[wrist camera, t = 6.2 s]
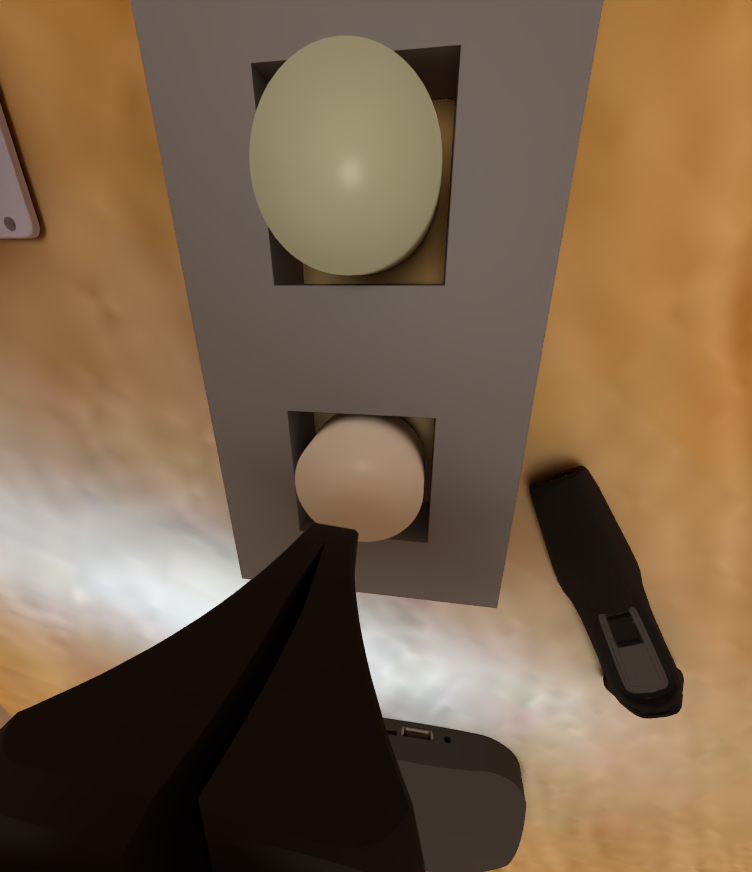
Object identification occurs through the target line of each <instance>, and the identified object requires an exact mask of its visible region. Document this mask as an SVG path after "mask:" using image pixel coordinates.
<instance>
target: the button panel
mask: <svg viewBox="0 0 752 872" xmlns="http://www.w3.org/2000/svg"><path fill="white" fill-rule="evenodd" d="M131 5H132V10H133V15H134V20H135V25H136V30H137V36H138V41H139V46H140V51H141V56H142V62H143V67H144V72H145V77H146V82H147V87H148V93H149V98H150V103H151V108H152V113H153V119H154V124H155V129H156V134H157V139H158V145H159V150H160V155H161V160H162V165H163V170H164V176H165V181H166V186H167V191H168V196H169V202H170V207H171V212H172V217H173V222H174V227H175V233H176V238H177V243H178V248H179V253H180V259H181V264H182V269H183V274H184V279H185V285H186V290H187V295H188V300H189V305H190V310H191V316H192V321H193V326H194V331H195V336H196V342H197V347H198V352H199V357H200V362H201V367H202V373H203V378H204V383H205V388H206V393H207V399H208V404H209V409H210V414H211V419H212V424H213V430H214V435H215V440H216V445H217V450H218V456H219V461H220V466H221V471H222V476H223V482H224V487H225V492H226V497H227V502H228V507H229V513H230V518H231V523H232V528H233V533H234V539H235V544H236V549H237V554H238V559H239V564H240V570H241V575H242V578H244V579H253V578H254V577H255V576H256V575H258V574H259V573H260V572H261V571H262V570H264V569H265V568H266V567H267V566H268V565H269V564H270V563H271V562H273V561H274V560H275V559H276V558H277V557H278V556H279V555H280V554H282V553H283V552H284V551H285V550H286V549H287V548H288V547H289V546H290V545H291V544H292V543H293V542H294V541H295V540H296V539H297V538H298V537H299V536H300V535H301V534H302V533H303V532H304V531H305V530H306V529H307V528H308V527H309V526H310V525H311V524H313V523H314V522H315V521H314V520H313V519H312V518H311V517H310V516H309V515H308V514H307V512H306V511H305V509H304V508H303V506H302V505H301V502H300V500H299V498H298V495H297V492H296V487H295V472H296V467H297V463H298V461H299V459H300V456H301V455H302V453H303V452H304V450H305V449H306V448H307V446H308V445H309V444H310V442H311V441H312V440H313V438H314V437H315V430H314V417H313V412H323V413H344V414H364V415H384V416H404V417H425V418H435V419H434V435H433V450H432V466H431V481H430V497H429V503H422V504H421V508H420V510H419V512H418V514H417V516H416V518H415V519H414V520H413V522H412V523H411V524H410V525H409V526H408V527H407V528H406V529H404V530H403V531H402V532H400V533H398V534H397V535H395V536H392V537H390V538H387V539H384V540H379V541H373V542H359V541H358V546H357V556H356V566H355V590H356V592H363V593H372V594H380V595H389V596H398V597H406V598H415V599H423V600H432V601H440V602H449V603H457V604H466V605H474V606H483V607H491V608H497V605H498V599H499V593H500V588H501V582H502V576H503V570H504V565H505V559H506V553H507V548H508V542H509V536H510V530H511V525H512V519H513V513H514V508H515V502H516V496H517V491H518V485H519V479H520V473H521V468H522V462H523V456H524V451H525V445H526V439H527V433H528V428H529V422H530V416H531V411H532V405H533V399H534V393H535V388H536V382H537V376H538V371H539V365H540V359H541V354H542V348H543V342H544V336H545V331H546V325H547V319H548V314H549V308H550V302H551V296H552V291H553V285H554V279H555V274H556V268H557V262H558V257H559V251H560V245H561V239H562V234H563V228H564V222H565V217H566V211H567V205H568V199H569V194H570V188H571V182H572V177H573V171H574V165H575V159H576V154H577V148H578V142H579V137H580V131H581V125H582V120H583V114H584V108H585V102H586V97H587V91H588V85H589V80H590V74H591V68H592V62H593V57H594V51H595V45H596V40H597V34H598V28H599V22H600V17H601V11H602V5H603V0H131ZM333 36H358V37H364V38H368V39H370V40H373V41H376V42H379V43H381V44H383V45H384V46H386V47H388V48H389V49H391V50H393V51H394V52H395V53H397V54H398V55H399V56H400V57H401V58H403V59H404V60H405V61H406V62H407V63H408V64H409V66H410V67H411V68H412V69H413V70H414V71H415V72H416V74H417V75H418V77H419V78H420V80H421V81H422V83H423V84H424V86H425V88H426V90H427V92H428V94H429V96H430V98H431V99H441V98H455V111H454V126H453V142H452V157H451V173H450V188H449V204H448V219H447V234H446V250H445V265H444V281H443V284H304V283H303V269H302V262H301V261H300V260H298V259H297V258H295V257H294V256H293V255H291V254H290V253H289V252H288V251H287V250H286V249H285V248H284V247H283V246H282V245H281V244H280V242H279V241H278V240H277V239H276V238H275V236H274V235H273V233H272V232H271V230H270V229H269V227H268V226H267V224H266V222H265V220H264V218H263V216H262V214H261V211H260V209H259V206H258V204H257V201H256V198H255V194H254V190H253V186H252V181H251V175H250V162H249V149H250V137H251V130H252V124H253V121H254V117H255V113H256V110H257V107H258V104H259V102H260V99H261V97H262V95H263V93H264V91H265V89H266V87H267V85H268V83H269V82H270V80H271V79H272V77H273V76H274V75H275V73H276V72H277V70H278V69H279V68H280V67H281V66H282V65H283V64H284V63H285V62H286V61H287V60H288V59H289V58H290V57H291V56H292V55H294V54H295V53H296V52H297V51H299V50H300V49H302V48H304V47H305V46H307V45H309V44H311V43H313V42H316V41H318V40H321V39H324V38H328V37H333ZM315 523H316V522H315Z"/></svg>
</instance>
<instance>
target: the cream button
mask: <svg viewBox="0 0 752 872" xmlns="http://www.w3.org/2000/svg"><path fill="white" fill-rule="evenodd" d="M424 475H425V455H424V450H423V447H422V444H421V442H420V439H419V437H418V436H417V434H416V433H415V431H414V430H413V429H412V428H411V427H410V426H409V425H408V424H407V423H406V422H405V421H404V420H402V419H401V418H399V417H398V416H384V415H364V414H344V413H338V414H336V415H335V416H333V417H332V418H331V419H329V420H328V421H327V422H326V423H325V424H324V425H323V427H322V428H321V429H320V430H319V432H318V433H317V434H316V436H315V437H314V438H313V440H312V441H311V442H310V444H309V445H308V446H307V448H306V449H305V450H304V452H303V453H302V455H301V456H300V459H299V461H298V463H297V467H296V472H295V487H296V492H297V495H298V498H299V500H300V502H301V505H302V506H303V508H304V509H305V511H306V512H307V514H308V515H309V516H310V517H311V518H312V519H313V520H314V521H315V522H316V523H320V524H326V525H332V526H337V527H343V528H349V529H354V530H356V531H357V532H358V534H359V535H358V541H359V542H373V541H379V540H384V539H387V538H390V537H392V536H395V535H397V534H398V533H400V532H402V531H403V530H404V529H406V528H407V527H408V526H409V525H410V524H411V523H412V522H413V520H414V519H415V518H416V516H417V514H418V512H419V510H420V508H421V504H422V500H423V492H424Z"/></svg>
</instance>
